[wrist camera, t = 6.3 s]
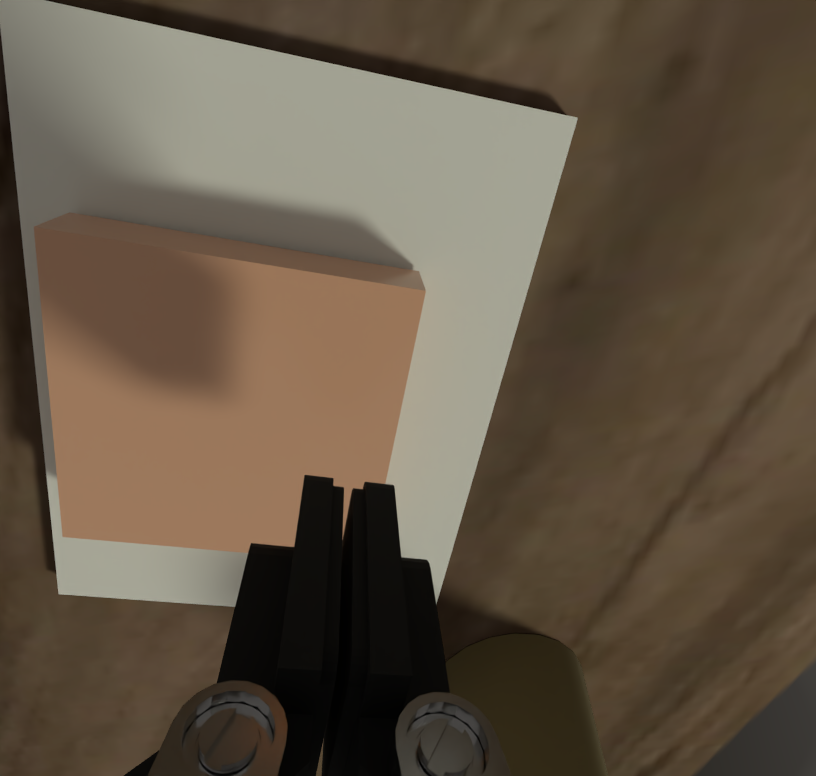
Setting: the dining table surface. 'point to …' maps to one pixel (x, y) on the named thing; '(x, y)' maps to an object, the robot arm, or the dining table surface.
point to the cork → (531, 703)
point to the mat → (287, 227)
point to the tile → (214, 379)
